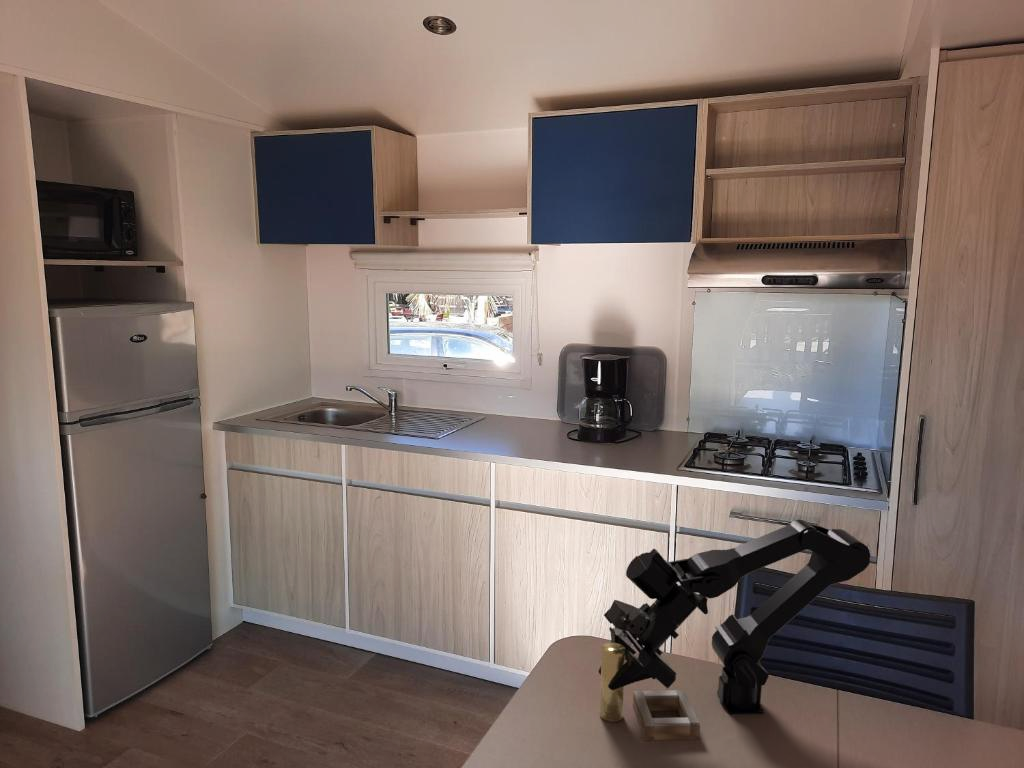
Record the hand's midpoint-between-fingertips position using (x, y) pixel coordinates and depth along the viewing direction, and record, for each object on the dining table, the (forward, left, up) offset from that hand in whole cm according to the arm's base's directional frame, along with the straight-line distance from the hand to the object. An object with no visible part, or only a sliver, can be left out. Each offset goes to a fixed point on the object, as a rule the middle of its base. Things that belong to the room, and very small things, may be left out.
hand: (604, 681), depth 125 cm
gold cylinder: (-1, 0, -7) cm, 7 cm away
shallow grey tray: (-10, +2, -7) cm, 13 cm away
